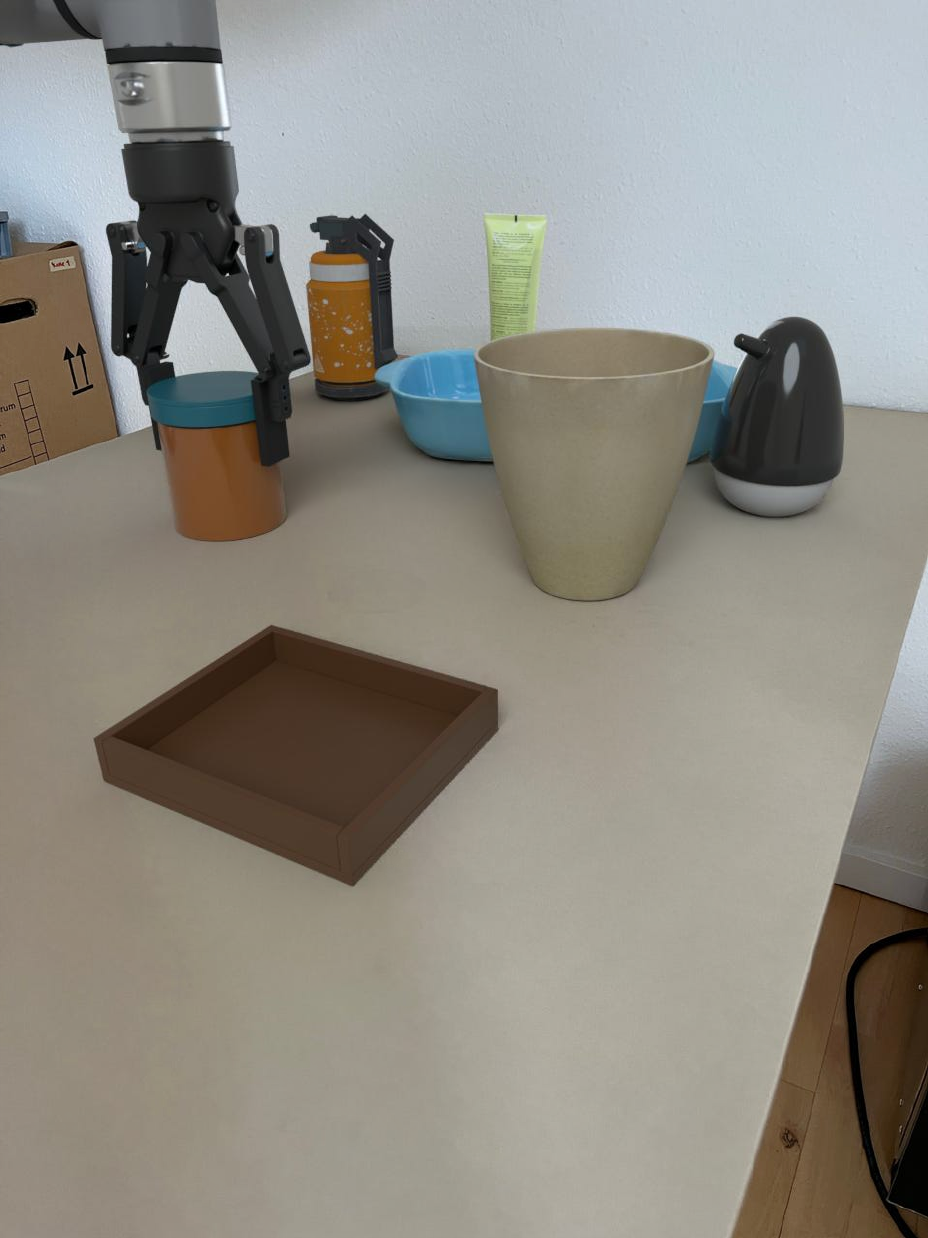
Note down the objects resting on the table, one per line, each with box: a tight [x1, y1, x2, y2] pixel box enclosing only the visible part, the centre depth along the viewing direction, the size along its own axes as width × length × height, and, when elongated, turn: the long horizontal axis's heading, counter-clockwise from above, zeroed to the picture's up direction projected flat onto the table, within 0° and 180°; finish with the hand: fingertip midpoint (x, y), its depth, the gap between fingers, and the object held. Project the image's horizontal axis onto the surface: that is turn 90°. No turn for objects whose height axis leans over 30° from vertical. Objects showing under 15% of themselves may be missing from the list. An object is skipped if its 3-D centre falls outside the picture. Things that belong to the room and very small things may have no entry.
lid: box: [147, 370, 259, 427], centre depth 73 cm, size 10×10×2 cm
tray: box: [93, 624, 499, 887], centre depth 48 cm, size 15×13×3 cm
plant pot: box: [474, 327, 716, 602], centre depth 63 cm, size 15×15×16 cm
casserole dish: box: [374, 348, 738, 464], centre depth 93 cm, size 37×22×7 cm, turn 86°
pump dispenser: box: [709, 316, 845, 518], centre depth 74 cm, size 10×10×15 cm
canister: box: [305, 213, 399, 401], centre depth 108 cm, size 9×11×20 cm
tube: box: [483, 212, 548, 341], centre depth 110 cm, size 6×5×20 cm
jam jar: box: [157, 420, 287, 542], centre depth 75 cm, size 9×9×11 cm
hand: (222, 453), depth 75 cm, fingers closed on lid, 10 cm apart
